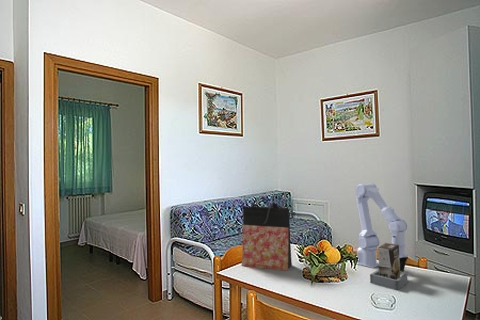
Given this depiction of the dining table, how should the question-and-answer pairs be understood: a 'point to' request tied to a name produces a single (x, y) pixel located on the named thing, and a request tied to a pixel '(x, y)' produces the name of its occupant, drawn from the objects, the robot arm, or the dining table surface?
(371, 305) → the dining table surface
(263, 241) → the gift bag
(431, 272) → the dining table surface
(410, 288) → the dining table surface
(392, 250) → the coffee box
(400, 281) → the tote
